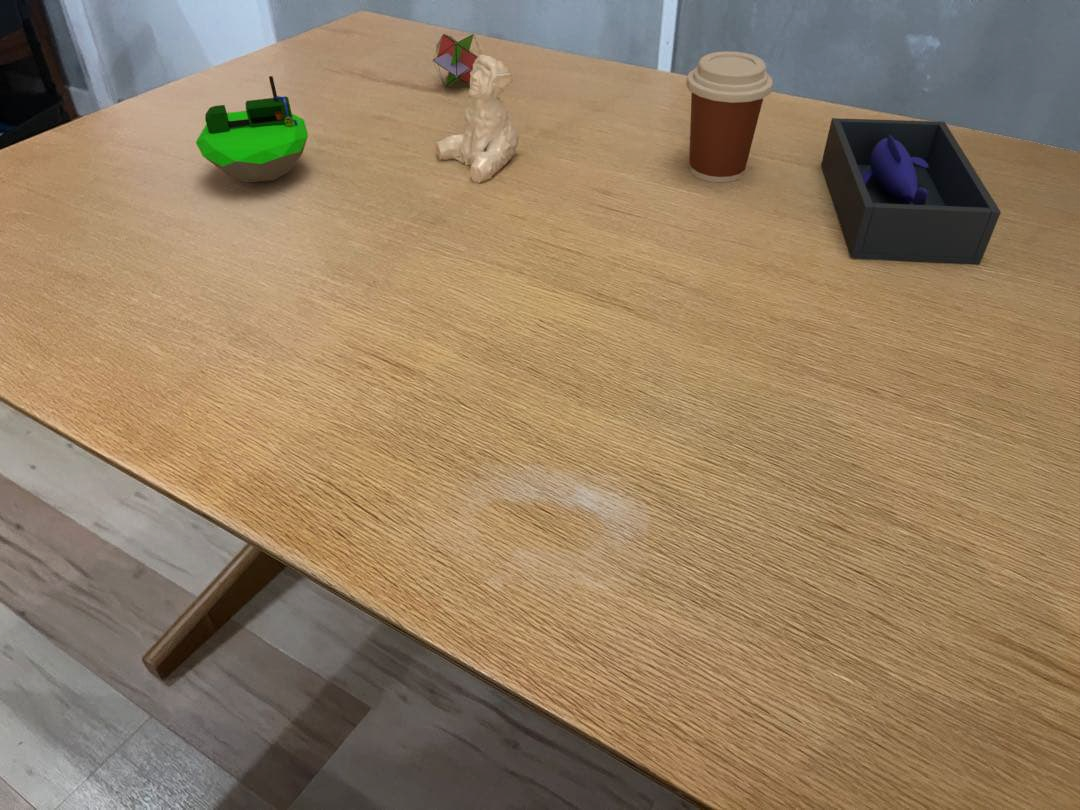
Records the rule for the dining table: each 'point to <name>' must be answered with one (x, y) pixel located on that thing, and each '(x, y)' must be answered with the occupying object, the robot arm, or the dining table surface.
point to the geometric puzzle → (455, 58)
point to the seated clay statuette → (484, 123)
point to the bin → (910, 230)
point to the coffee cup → (725, 113)
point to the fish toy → (896, 171)
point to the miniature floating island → (254, 139)
